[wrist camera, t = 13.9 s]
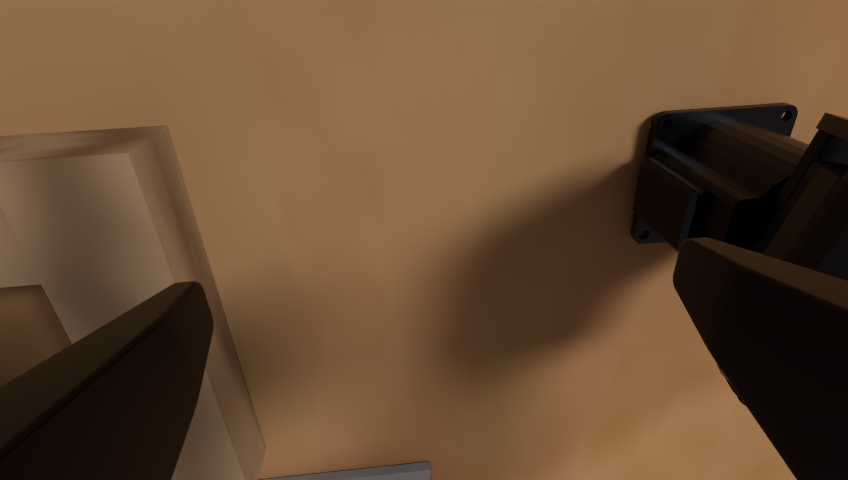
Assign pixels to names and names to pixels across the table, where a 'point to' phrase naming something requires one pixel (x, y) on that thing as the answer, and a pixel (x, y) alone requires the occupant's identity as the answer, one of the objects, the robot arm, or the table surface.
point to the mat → (372, 473)
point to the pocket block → (123, 262)
